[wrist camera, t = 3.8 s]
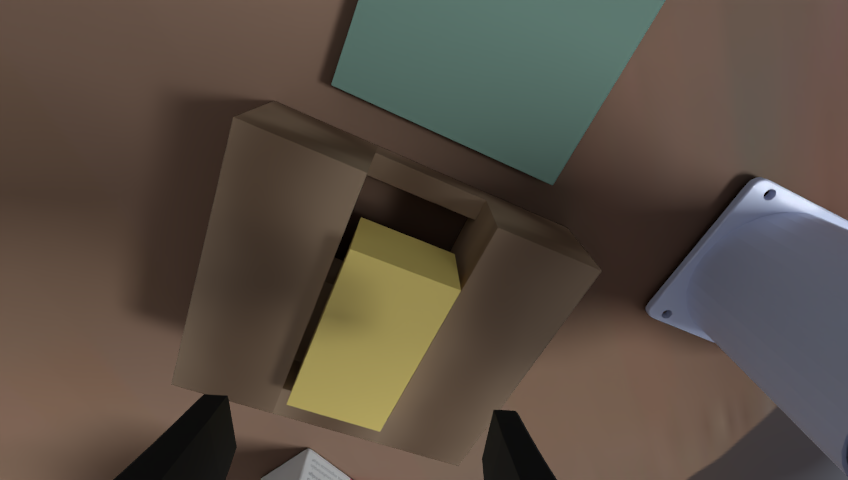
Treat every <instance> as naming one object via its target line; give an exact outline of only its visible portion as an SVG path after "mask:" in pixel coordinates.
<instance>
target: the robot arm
mask: <svg viewBox="0 0 848 480" xmlns="http://www.w3.org/2000/svg"><path fill="white" fill-rule="evenodd" d="M768 190H769V192H768V194H767V195H766V196H764V194H765V192H767V191H768ZM666 310H667V312H665V313H663V312H664V311H666ZM646 312H647V313H648V315H649V316H650V317H652V318H654V319H656V320H659V321H661V322H664V323H666V324H669V325H671V326H674V327H676V328H679V329H681V330H684V331H686V332H689V333H691V334H694V335H696V336H699V337H701V338H704V339H706V340H709V341H711V342H714V343H716V344H717V345H718V346H719V347H720V348H721V349H722V350H723V351H724V352H725V353H726V354H727V355H728V356H729V357H730V358H731V359H732V360H733V361H734V362H735V363H736V364H737V365H738V366H739V367H740V368H741V369H742V370H743V371H744V372H745V373H746V374H747V375H748V376H749V377H750V378H751V379H752V380H753V382H754V383H755V384H756V385H757V386H758V387H759V388H760V389H761V390H762V391H763V392H764V393H765V394H766V395H767V396H768V397H769V398H770V399H771V400H772V401H773V402H774V403H775V404H776V405H777V406H778V407H779V408H780V409H781V410H782V411H783V412H784V413H785V414H786V415H787V416H788V417H789V418H790V419H791V420H792V421H793V422H795V424H796V425H797V426H798V427H799V428H800V429H801V430H802V431H803V432H804V433H805V434H806V435H807V436H808V437H809V438H810V439H811V440H812V441H813V442H814V443H815V444H816V445H817V446H818V447H819V448H820V449H821V450H822V451H823V452H824V453H825V454H826V455H827V456H828V457H829V458H830V459H831V460H832V461H833V462H834V463H835V464H836V465H837V466H838V467H839V468H840V469H841V470H842V471H843V472H844V473H845V474H846V475H847V476H848V221H847V220H845V219H843V218H841V217H840V216H838V215H836V214H834V213H832V212H830V211H828V210H826V209H824V208H822V207H820V206H818V205H816V204H814V203H812V202H811V201H809V200H807V199H805V198H803V197H801V196H799V195H797V194H795V193H793V192H791V191H789V190H787V189H785V188H784V187H782V186H780V185H778V184H776V183H774V182H772V181H770V180H768V179H765V178H762V177H757V178H754V179H752V180H750V181H749V182H748V183H747V184H746V185H745V186H744V188H743V189H742V190H741V191H740V192H739V194H738V195H737V196H736V197H735V198H734V200H733V201H732V202H731V203H730V204H729V206H728V207H727V208H726V209H725V211H724V212H723V213H722V214H721V215H720V217H719V218H718V219H717V220H716V221H715V223H714V224H713V225H712V226H711V228H710V229H709V230H708V231H707V232H706V234H705V235H704V236H703V237H702V238H701V240H700V241H699V242H698V243H697V244H696V246H695V247H694V248H693V249H692V251H691V252H690V253H689V254H688V255H687V257H686V258H685V259H684V260H683V261H682V263H681V264H680V265H679V266H678V267H677V269H676V270H675V271H674V272H673V274H672V275H671V276H670V277H669V278H668V280H667V281H666V282H665V283H664V284H663V286H662V287H661V288H660V289H659V290H658V292H657V293H656V294H655V295H654V297H653V298H652V299H651V300H650V301H649V303H648V304H647V306H646ZM662 313H663V314H662ZM235 450H236V441H235V435H234V429H233V423H232V417H231V411H230V405H229V399H228V396H227V395H208V394H204V395H203V396H202V397H201V398H200V399H199V400H197V401H196V402H195V403H194V404H193V405H192V406H191V407H190V408H189V409H188V410H187V411H186V412H185V413H184V414H183V415H182V416H181V417H180V418H179V419H178V420H177V421H176V422H175V423H174V424H173V425H172V426H171V427H170V428H169V429H168V430H167V431H166V432H164V433H163V434H162V435H161V436H160V437H159V438H158V439H157V440H156V441H155V442H154V443H153V444H152V445H151V446H150V447H149V448H148V449H146V450H145V451H144V452H143V453H142V454H141V455H140V456H139V457H138V458H137V459H136V460H135V461H133V462H132V463H131V464H130V465H129V466H128V467H127V468H126V469H125V470H124V471H123V472H121V473H120V474H119V475H118V476H117V477H116V478H115V479H113V480H225V479H226V477H227V474H228V471H229V468H230V465H231V462H232V459H233V456H234V453H235ZM482 462H483V474H484V480H557V479H556V478H555V476H554V475H553V473H552V471H551V470H550V468H549V467H548V465H547V463H546V462H545V460H544V458H543V457H542V455H541V453H540V452H539V450H538V448H537V447H536V445H535V443H534V442H533V440H532V438H531V436H530V435H529V433H528V431H527V429H526V427H525V426H524V424H523V422H522V420H521V418H520V416H519V415H518V413H517V412H516V411H508V410H493V414H492V419H491V423H490V427H489V432H488V436H487V440H486V444H485V449H484V453H483V457H482Z"/></svg>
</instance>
